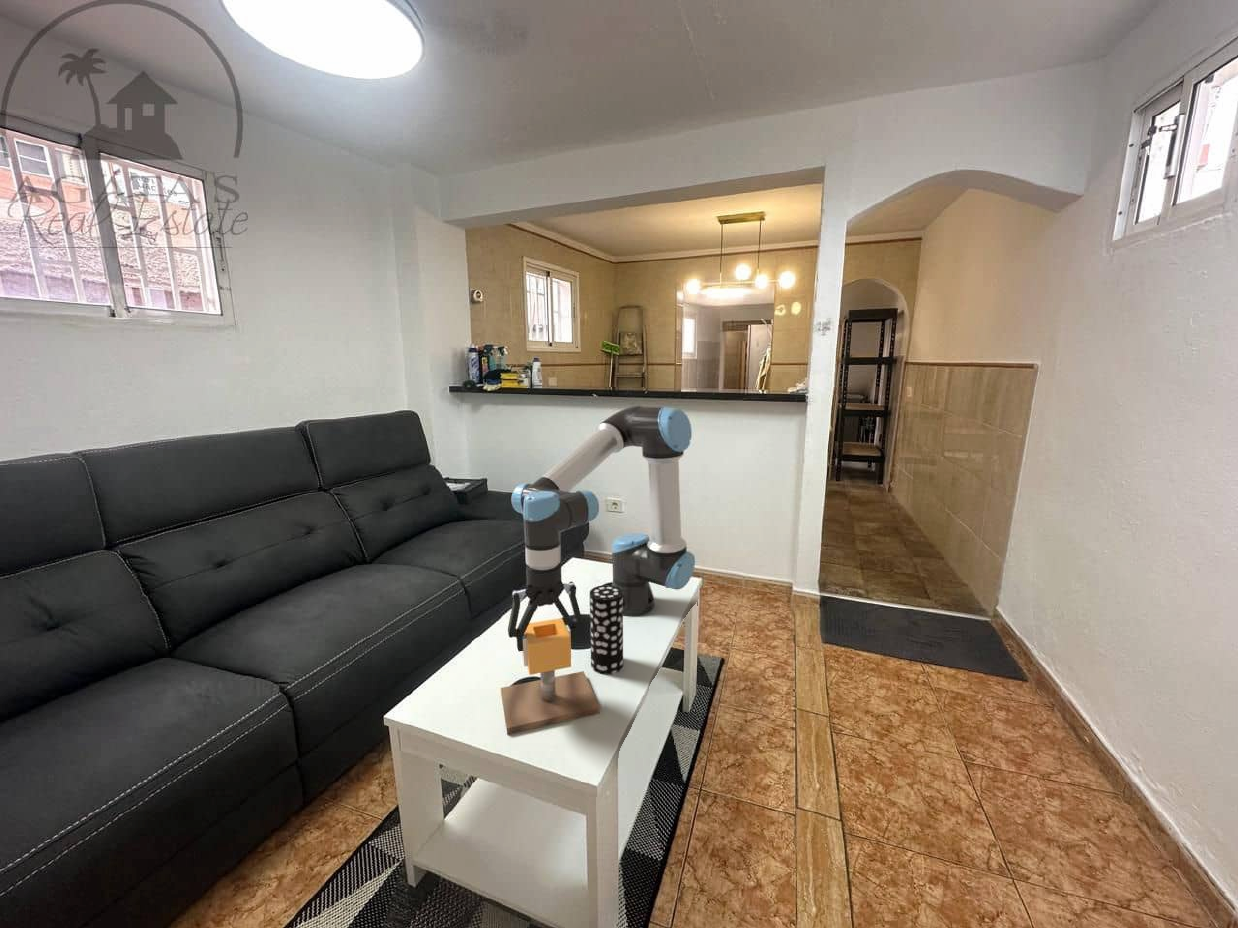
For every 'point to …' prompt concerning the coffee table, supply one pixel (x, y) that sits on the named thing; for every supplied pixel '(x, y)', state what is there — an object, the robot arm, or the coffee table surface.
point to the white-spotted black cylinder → (606, 629)
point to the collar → (548, 646)
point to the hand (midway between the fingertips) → (547, 658)
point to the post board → (547, 701)
